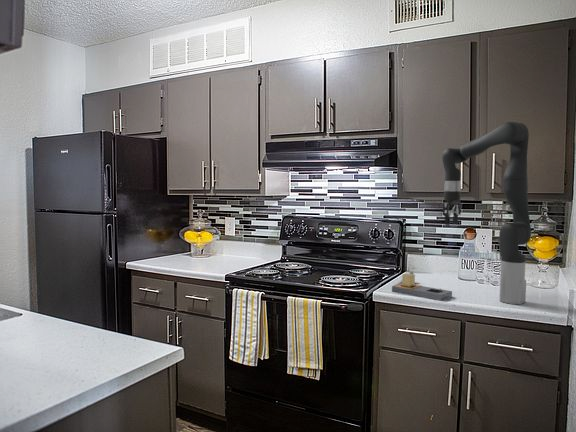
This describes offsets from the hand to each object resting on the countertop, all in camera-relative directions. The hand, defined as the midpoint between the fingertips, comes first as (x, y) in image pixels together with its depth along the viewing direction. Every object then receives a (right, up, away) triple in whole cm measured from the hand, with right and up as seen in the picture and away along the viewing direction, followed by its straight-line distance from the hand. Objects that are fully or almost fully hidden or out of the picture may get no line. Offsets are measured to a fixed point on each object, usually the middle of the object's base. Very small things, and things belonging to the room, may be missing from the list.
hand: (451, 224), depth 224 cm
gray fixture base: (-19, -31, -15) cm, 39 cm away
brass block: (-23, -31, -10) cm, 40 cm away
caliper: (-22, -30, +3) cm, 38 cm away
